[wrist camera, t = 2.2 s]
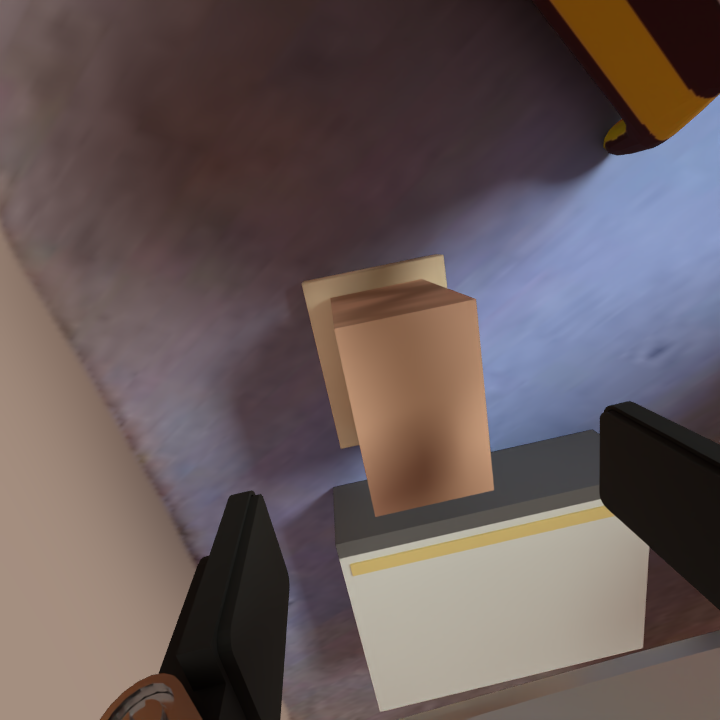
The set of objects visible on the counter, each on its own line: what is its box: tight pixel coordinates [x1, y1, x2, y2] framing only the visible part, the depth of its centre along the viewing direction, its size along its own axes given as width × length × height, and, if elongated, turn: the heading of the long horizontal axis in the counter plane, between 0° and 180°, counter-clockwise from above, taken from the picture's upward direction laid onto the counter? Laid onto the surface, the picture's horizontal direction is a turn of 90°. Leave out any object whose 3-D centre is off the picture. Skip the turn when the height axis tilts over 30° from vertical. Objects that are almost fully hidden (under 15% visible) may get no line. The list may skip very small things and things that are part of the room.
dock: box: [333, 430, 649, 712], centre depth 25 cm, size 18×14×5 cm
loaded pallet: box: [302, 254, 494, 517], centre depth 18 cm, size 8×10×9 cm
